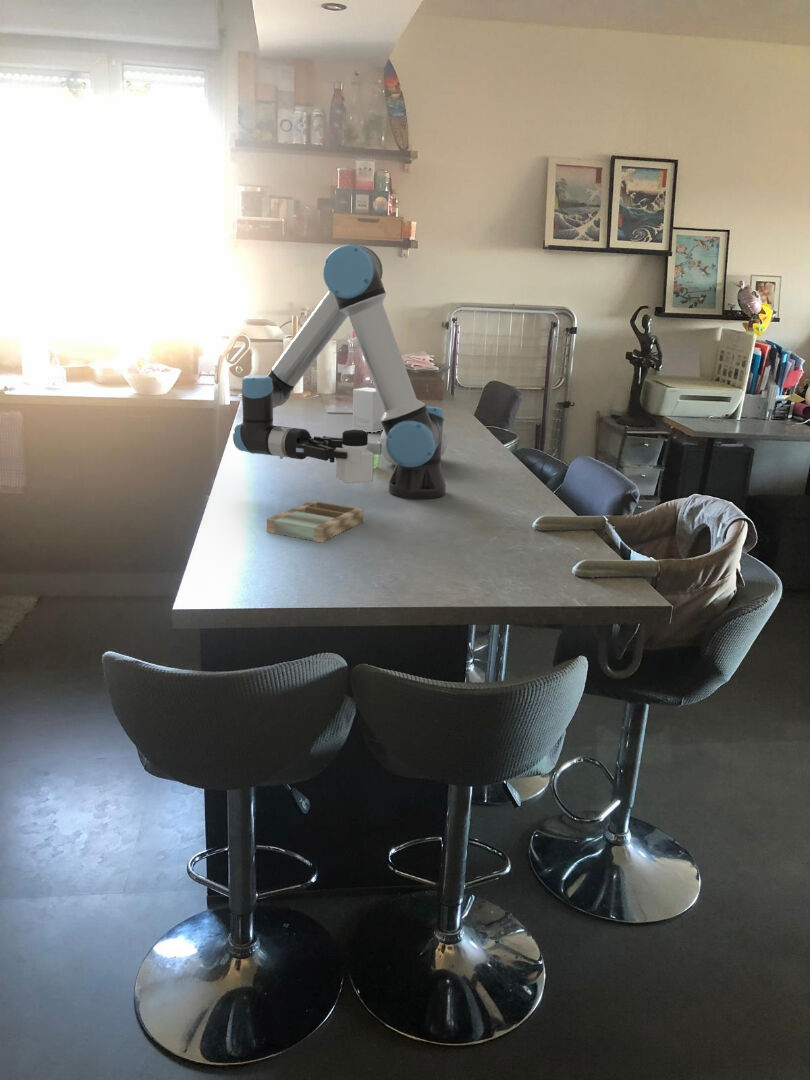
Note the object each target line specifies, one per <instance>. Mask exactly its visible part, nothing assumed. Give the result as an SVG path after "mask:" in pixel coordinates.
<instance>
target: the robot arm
mask: <svg viewBox="0 0 810 1080" xmlns="http://www.w3.org/2000/svg"><path fill="white" fill-rule="evenodd" d="M383 269H384V268H383V265H382V262H381V259H380V258H379V256H378V254H377V253H375V251H374V250H372V249H371V248H369V247H367V246H362V245H358V244H353V243H346V244H344V245H341V246H338V247H336V248H335V249H333V250H332V251H331V252H330V253H329V254H328V256H327V257H326V259H325V261H324V264H323V269H322V275H323V280H324V283H325V285H326V287H327V288H328V291H327V293H326V294H325V296H324V297H323V298H322V299H321V301H320V302H319V303H318V305H317V306H316V307H315V309H314V310H313V312H312V313H311V315H309V317H308V318H307V320H305V323H304V324H303V325H302V327H301V328H300V329H299V331H298V332H297V333H296V335H295V336H294V338H293V339H292V340H291V342H290V343H289V345H288V346H287V347H286V348H285V350H284V351H283V352H282V354H281V355H280V357H279V358H278V359H277V361H276V362H275V363H274V365H273V366H272V367H271V369H270V371H269V372H268V373H267V374H266V375H263V374H252V375H245V376H244V377H243V378H242V380H241V381H242V382H241V396H242V397H241V398H242V399H241V401H242V404H241V405H242V421H241V422H239V423H238V424H236V426H235V427H234V432H233V434H232V441H233V444H234V447H235V448H236V449H237V450H239V451H242V452H246V453H249V454H253V455H254V454H255V455H256V454H257V455H268V456H274V457H279V459H280V460H283V459H284V458H290V459H294V460H295V459H296V460H305V459H306V458H307V457H309V458H313V459H317V460H321V461H329V463H335V460H336V461H337V460H343V461H351V462H359V463H360V462H362V451H360V450H352V449H344V448H343V447H342V437H333V436H326V435H323V436H322V437H321V436H313V437H312V435H311V434H310V432H309V431H308V430H307V429H305V428H298V427H290V426H281V425H274V423H273V422H274V408H277V407H280V406H282V405H284V404H285V403H286V402H287V401H288V400H289V398H290V397H291V393H292V391H293V390H294V388H295V387H296V385H297V384H298V383H299V382H300V380H302V378H303V376H304V375H305V374H306V372H307V371H308V370H309V368H310V367H311V366H312V364H313V363H314V362H315V360H317V358H318V357H319V355H320V354H321V352H322V351H323V350H324V349H325V347H326V345H328V343H329V342H330V341H331V339H332V338H333V337H334V335H335V334H336V333H337V331H338V330H339V329H340V327H341V326H342V325H343V324H344V322H345V321H346V319H347V318H348V317H349V320H350V322H351V323H350V324H351V326H352V328H353V331H354V334H355V336H356V340H357V341H358V345H359V346H360V347H359V348H360V350H361V353H362V355H363V358H364V361H365V364H366V366H367V369H368V373H369V375H370V378H371V380H372V383H373V386H374V388H375V389H376V391H377V394H378V397H379V400H380V402H381V405H382V408H383V410H384V411H383V415H382V417H381V419H380V420H381V423H382V426H383V429H384V431H385V434H386V437H387V438H386V447H387V451H388V453H389V455H390V457H391V458H392V459H393V460H394V461H395V462H396V466H395V465H394V466H395V467H394V469H393V471H392V473H391V477H390V480H389V483H388V492H389V493H390V494H392V495H394V496H397V497H399V498H400V497H401V498H406V499H414V500H416V499H417V500H428V499H429V500H430V499H437V498H441V497H443V496H444V495H445V494H446V491H447V490H446V488H447V485H446V481H445V477H444V474H443V470H442V465H441V461H442V460H441V459H442V456H441V447H442V431H443V424H444V421H445V418H444V411H443V409H442V408H441V407H439V406H438V407H437V406H435V407H434V406H426V403H425V402H422V401H421V400H420V399H417V396H416V393H415V390H414V388H413V385H412V384H413V383H412V382H411V379H410V376H409V374H408V371H407V368H406V365H405V363H404V360H403V357H402V353H401V351H400V348H399V346H398V342H397V339H396V337H395V335H394V331H393V329H392V325H391V323H390V320H389V317H388V315H387V312H386V308H385V307H384V301H385V298H386V297H387V293H386V290H385V288H384V287H385V286H384V283H383V282H382V278H383ZM366 449H367V450H369V451H371V452H372V453H373V455H377V456H380V455H382V452H381V450H382V444H381V443H379V442H372V441H371V442H370V441H368V447H367V448H366Z"/></svg>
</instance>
